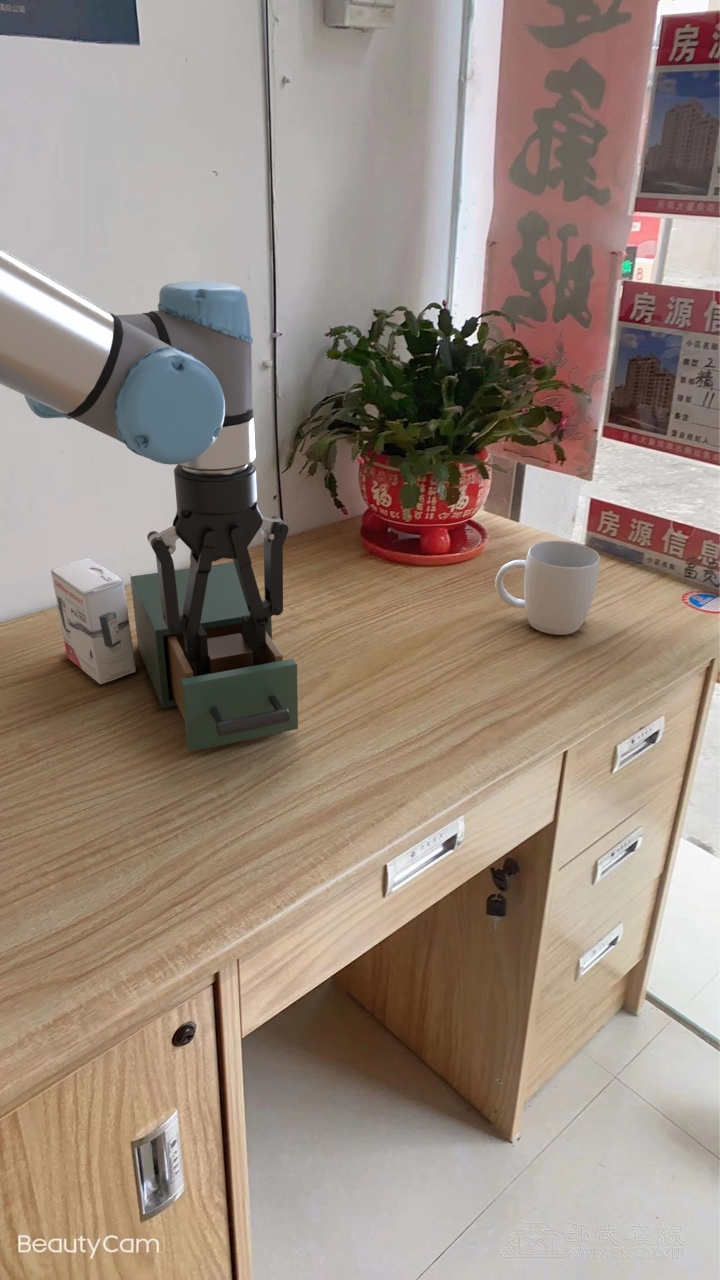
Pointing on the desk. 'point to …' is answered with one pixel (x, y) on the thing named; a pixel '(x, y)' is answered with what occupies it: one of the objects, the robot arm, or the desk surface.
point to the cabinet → (218, 610)
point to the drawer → (232, 694)
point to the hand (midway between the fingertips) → (227, 679)
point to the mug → (554, 585)
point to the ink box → (94, 619)
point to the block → (228, 653)
